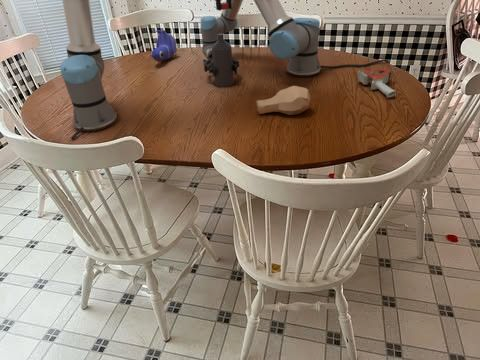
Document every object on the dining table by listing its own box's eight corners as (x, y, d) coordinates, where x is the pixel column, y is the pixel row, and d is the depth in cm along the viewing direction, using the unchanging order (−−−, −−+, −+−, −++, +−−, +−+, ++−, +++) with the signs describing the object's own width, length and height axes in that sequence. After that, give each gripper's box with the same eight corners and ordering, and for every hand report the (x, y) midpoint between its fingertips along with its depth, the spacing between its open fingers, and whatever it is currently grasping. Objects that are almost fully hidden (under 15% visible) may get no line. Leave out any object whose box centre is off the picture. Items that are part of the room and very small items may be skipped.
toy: (165, 61, 201) (145, 67, 179) (160, 29, 194) (139, 31, 172) (181, 61, 199) (163, 66, 177) (177, 28, 192) (158, 30, 170)
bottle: (217, 88, 155) (213, 37, 142) (213, 81, 161) (208, 33, 149) (236, 84, 157) (233, 35, 144) (230, 78, 163) (227, 30, 151)
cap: (227, 7, 136) (227, 2, 135) (230, 9, 133) (229, 3, 132) (217, 8, 135) (217, 3, 134) (220, 10, 132) (219, 4, 131)
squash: (314, 116, 128) (313, 95, 122) (259, 125, 130) (256, 105, 124) (308, 99, 136) (307, 78, 129) (257, 108, 138) (253, 88, 131)
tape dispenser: (391, 103, 136) (403, 82, 149) (394, 90, 133) (407, 70, 145) (346, 93, 144) (362, 74, 156) (348, 81, 140) (364, 62, 153)
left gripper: (235, -68, 126) (239, 4, 140) (191, -65, 120) (199, 10, 134) (245, -68, 120) (248, 7, 134) (200, -65, 115) (207, 13, 128)
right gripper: (236, 61, 173) (249, 76, 155) (194, 67, 169) (202, 83, 152) (236, 45, 169) (249, 59, 151) (191, 51, 165) (200, 66, 147)
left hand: (224, 8), depth 134 cm, fingers closed on cap, 4 cm apart
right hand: (225, 71), depth 151 cm, fingers closed on bottle, 8 cm apart
